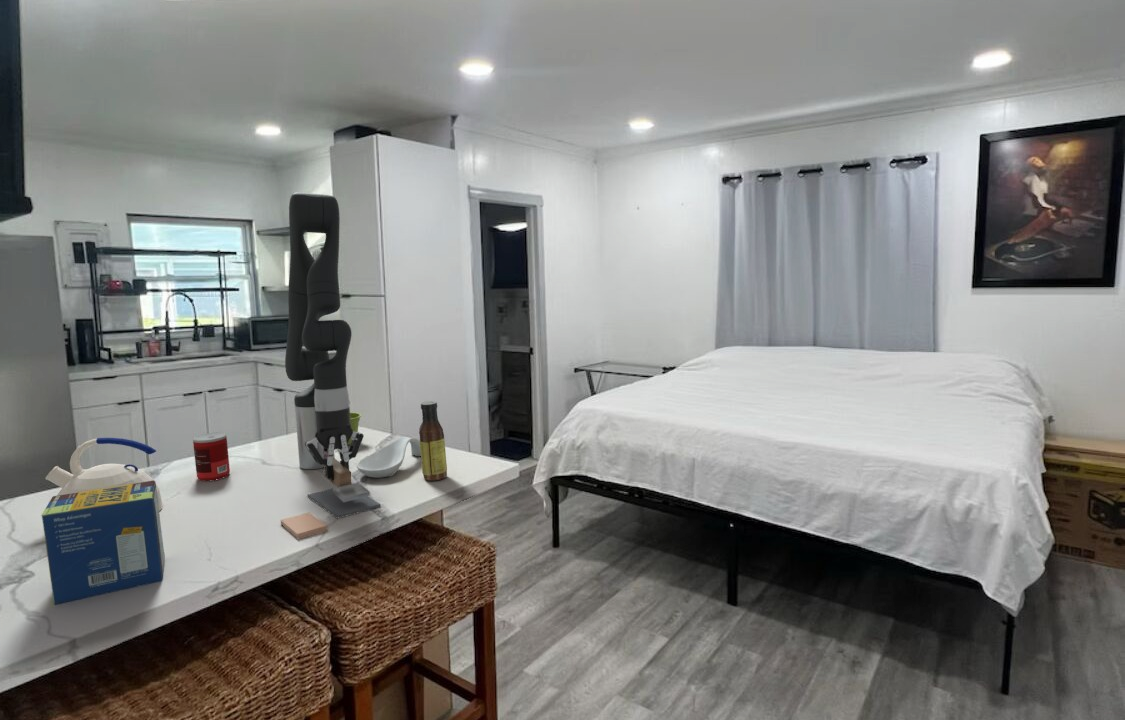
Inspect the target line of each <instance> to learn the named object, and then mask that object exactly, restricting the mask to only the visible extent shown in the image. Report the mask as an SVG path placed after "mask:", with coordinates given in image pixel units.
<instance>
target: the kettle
mask: <svg viewBox="0 0 1125 720" xmlns="http://www.w3.org/2000/svg"><path fill="white" fill-rule="evenodd" d="M109 444H110V445H119V446H126V447H131V448H134V449H137V450H140V451H141V452H143V453H145V454H147V455H152V454H154V453H156V452H157V449H154V448H153V447H152V446H149V445H147V444H145V443H143V442H139V441H137V440H132V439H127V438H120V437H119V438H118V437H98V438H93V439H90V440H87V441H85V442H83V443H82V444H80V445H78V446H77V447H76V449H74V451H73V453H72V454H71V457H70V461H69V467H70V468H69V469H70V472H71V473H70V472H69V471H67V470H65V469H62V468H61V467H59V465H57V466H54V467H53V468H52V469H51V470H50V471H49V472H48V474H47V475H46V476H45V480H46V481H49V482H51V483H53V484H54V485H56V486H58V487H60V488H61V489H60V490H59V492H58V493H57V494H56V496H58V495H65V494H72V493H78V492H84V491H90V490H96V489H103V488H110V487H116V486H122V485H128V484H135V483H141V482H147V481H153V480H154V479H153V478H152V477H151V476H150V475H148V474H147V473H146V472H145V471H143V470H142V469H140V468H138V467H137V466H136V465H134V464H123V463H103V464H98V465H96V466H92V467H90V468H88V469H86V468H84V469H83V467H82V466H81V461H80V460H81V455H82V454H83V452H85V450H87V449H88V448H90V447H91V446H95V445H109ZM156 490H157V498H158V507H159V512H160V511H161V510H162V509H163V507H164V504H163V501H162V495H161V493H160V487H159V486H158V485H157V484H156Z"/></svg>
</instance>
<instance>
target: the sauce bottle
mask: <svg viewBox="0 0 1125 720" xmlns="http://www.w3.org/2000/svg"><path fill="white" fill-rule="evenodd" d="M420 409H421V413H422V416H421V417H422V422H421V425H420V426H419V431H418V433H419V440H420V449H421V457H420V458H421V460H420V461H421V469H422V471H421V472H422V474H423V475H422V476H423V479H424V480H425V481H430V482H434V481H435V482H436V481H437V482H438V481H441V480H444V479H445V478H447V476H448V472H447V471H448V464H447V454H446V442H445V441H446V440H445V434H444V433H445V432H444V428H443V427H442V425H441V423H440V421H439V419H438V417H439V416H438V402H437V401H432V400H431V401H424V402H421V403H420Z"/></svg>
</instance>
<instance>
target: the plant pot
mask: <svg viewBox="0 0 1125 720" xmlns="http://www.w3.org/2000/svg"><path fill="white" fill-rule="evenodd" d="M361 417H362V414H361V413H359V412H350V421H351V424H350V425H351V428H352V430H353V431H354V432H359V423H360V419H361ZM351 438H352V436H351ZM351 438H350V439H349V441H348V443H347V446H350V445H351V442H352V439H351Z"/></svg>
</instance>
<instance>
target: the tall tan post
mask: <svg viewBox="0 0 1125 720" xmlns="http://www.w3.org/2000/svg"><path fill="white" fill-rule="evenodd" d="M332 465H333V468H334V469H333V472H334V480H333V481H330V480H329V479H328V478H326V476H325V466H324V468H323V476H324V477H325V478H326V479H327V480H328V481H329V482H330V483H331V484H332V485H333V486H335V487H333V493H334V494H335V495H336V496H337V497H338V498H340V499H341V500H342V501H343V502H347V501H351V500H355V499H359V498H363V497H367V496H368V497H370V494H371V493H370V492H371V491H370V490H369V489H367V488H366V487H365V486H364V485H362V483H360V482H355V483H352V471H351V470H350V469H349V470H348V469H347V468H346V467H345V466H343V465H342V464H341V463H340V460H337V459H336V458H333V459H332ZM336 487H337V488H336Z"/></svg>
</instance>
